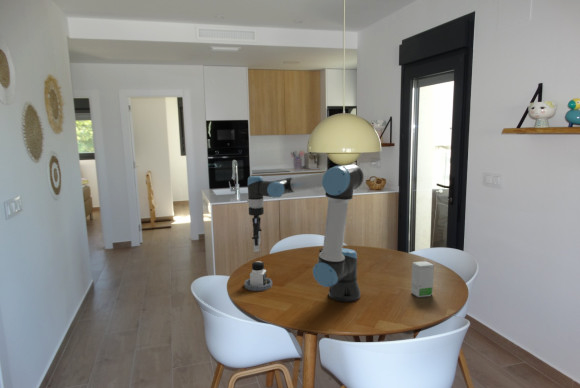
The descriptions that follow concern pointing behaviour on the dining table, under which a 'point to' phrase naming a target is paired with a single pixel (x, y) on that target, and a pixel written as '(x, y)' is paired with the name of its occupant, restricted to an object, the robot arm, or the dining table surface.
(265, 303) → the dining table surface
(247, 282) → the dish
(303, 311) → the dining table surface
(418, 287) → the skincare box
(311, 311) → the dining table surface
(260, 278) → the medicine bottle
